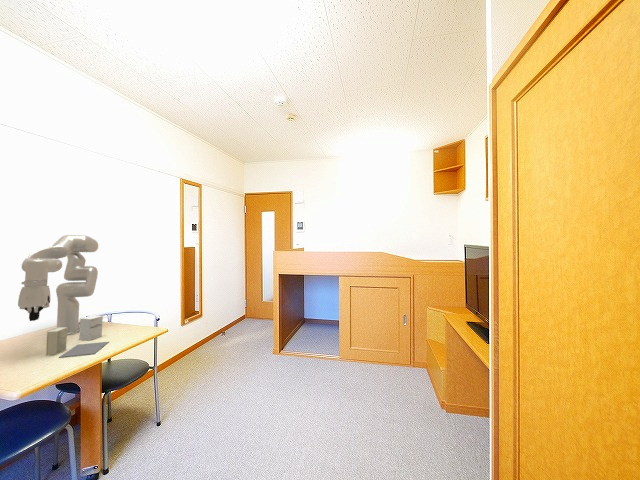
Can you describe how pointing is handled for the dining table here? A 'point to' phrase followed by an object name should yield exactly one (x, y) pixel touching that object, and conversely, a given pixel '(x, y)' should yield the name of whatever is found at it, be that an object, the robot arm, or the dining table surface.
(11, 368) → the dining table surface
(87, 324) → the supplement box
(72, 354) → the mat
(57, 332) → the skincare box
